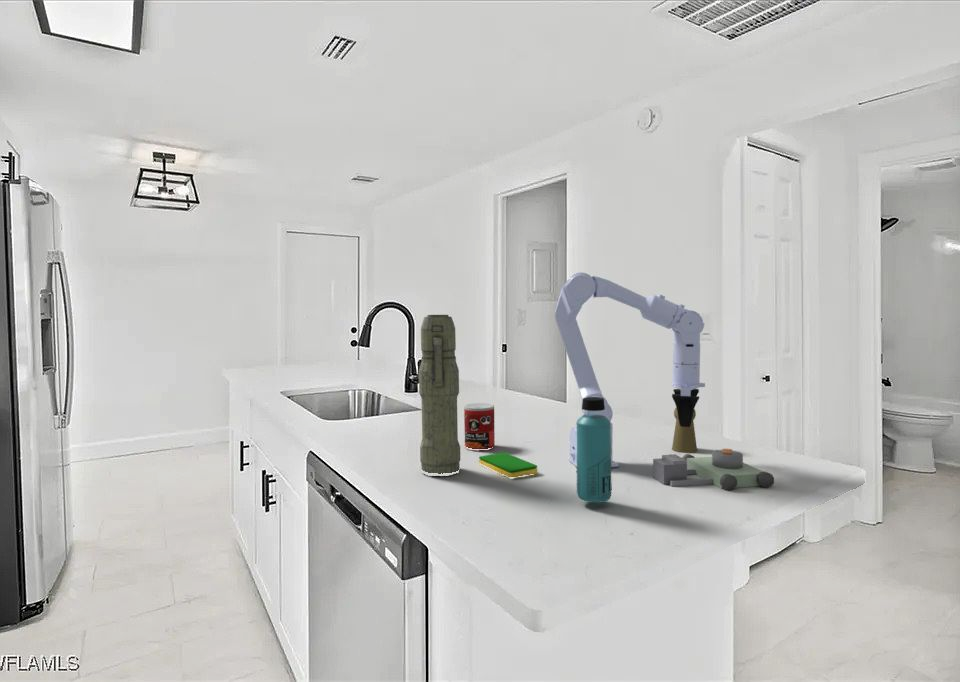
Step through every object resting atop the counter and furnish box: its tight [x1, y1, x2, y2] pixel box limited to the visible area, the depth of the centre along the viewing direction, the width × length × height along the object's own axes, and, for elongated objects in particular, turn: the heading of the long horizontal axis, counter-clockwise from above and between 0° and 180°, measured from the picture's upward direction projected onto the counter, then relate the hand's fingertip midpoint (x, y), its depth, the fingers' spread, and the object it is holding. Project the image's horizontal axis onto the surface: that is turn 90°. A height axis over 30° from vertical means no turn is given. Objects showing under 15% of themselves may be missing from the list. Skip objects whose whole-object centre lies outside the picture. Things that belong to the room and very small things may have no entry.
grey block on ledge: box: [652, 454, 688, 485], centre depth 124 cm, size 5×5×5 cm
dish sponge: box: [478, 451, 538, 477], centre depth 134 cm, size 7×14×2 cm, turn 30°
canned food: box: [463, 402, 496, 449], centre depth 154 cm, size 8×8×11 cm
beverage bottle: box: [575, 397, 613, 503], centre depth 109 cm, size 6×7×20 cm
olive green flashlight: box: [418, 314, 461, 474], centre depth 132 cm, size 9×12×35 cm
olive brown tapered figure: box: [671, 407, 698, 454], centre depth 149 cm, size 6×6×11 cm
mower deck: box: [669, 448, 775, 491], centre depth 125 cm, size 20×17×6 cm
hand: (685, 423), depth 134 cm, fingers open, 7 cm apart
